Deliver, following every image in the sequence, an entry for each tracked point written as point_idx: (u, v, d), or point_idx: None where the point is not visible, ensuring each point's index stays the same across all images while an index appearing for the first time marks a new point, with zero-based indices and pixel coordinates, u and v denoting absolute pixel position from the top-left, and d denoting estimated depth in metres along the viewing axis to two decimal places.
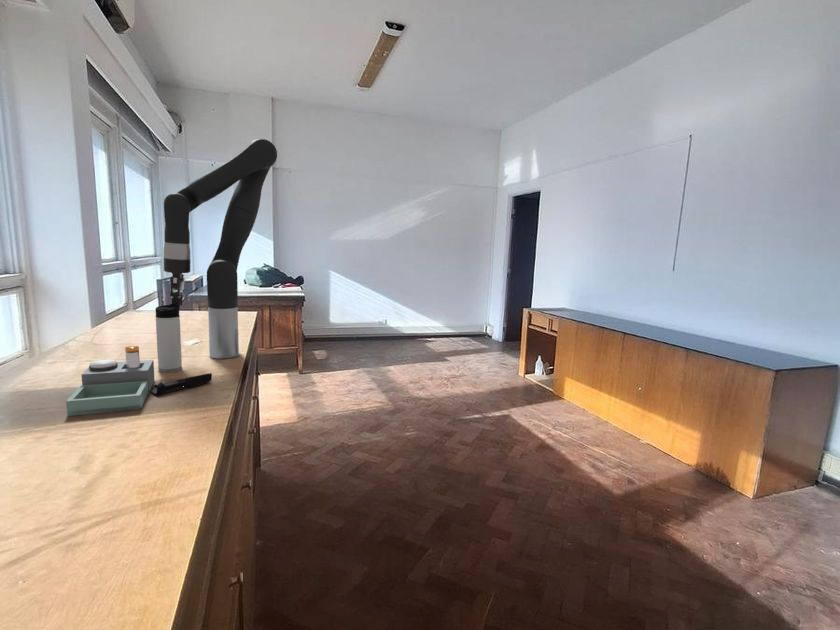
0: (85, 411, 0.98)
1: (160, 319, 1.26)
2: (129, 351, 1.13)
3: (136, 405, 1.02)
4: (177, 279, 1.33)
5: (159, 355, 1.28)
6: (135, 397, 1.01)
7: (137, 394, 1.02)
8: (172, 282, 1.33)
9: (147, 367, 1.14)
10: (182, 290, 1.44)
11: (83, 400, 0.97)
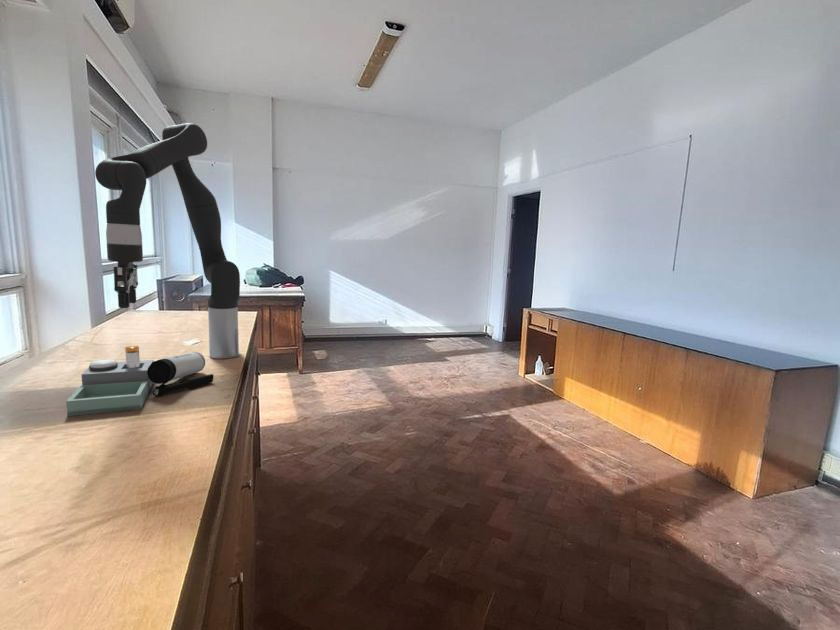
0: (85, 411, 0.98)
1: None
2: (129, 351, 1.13)
3: (136, 405, 1.02)
4: (122, 269, 1.05)
5: None
6: (135, 397, 1.01)
7: (137, 394, 1.02)
8: (116, 273, 1.04)
9: (147, 367, 1.14)
10: (135, 284, 1.15)
11: (83, 400, 0.97)
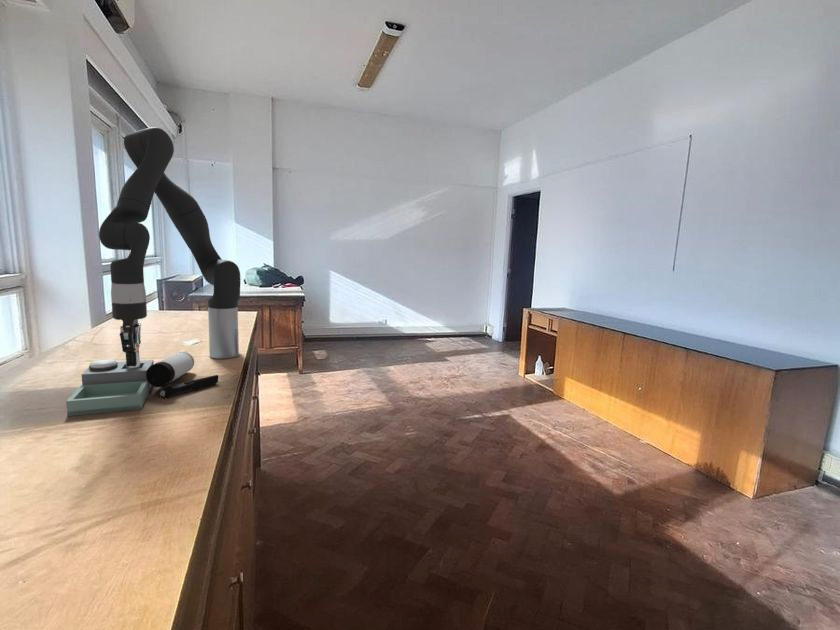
0: (85, 411, 0.98)
1: None
2: None
3: (136, 405, 1.02)
4: (129, 335, 1.08)
5: None
6: (135, 397, 1.01)
7: (137, 394, 1.02)
8: (123, 339, 1.08)
9: (147, 367, 1.14)
10: (138, 342, 1.16)
11: (83, 400, 0.97)
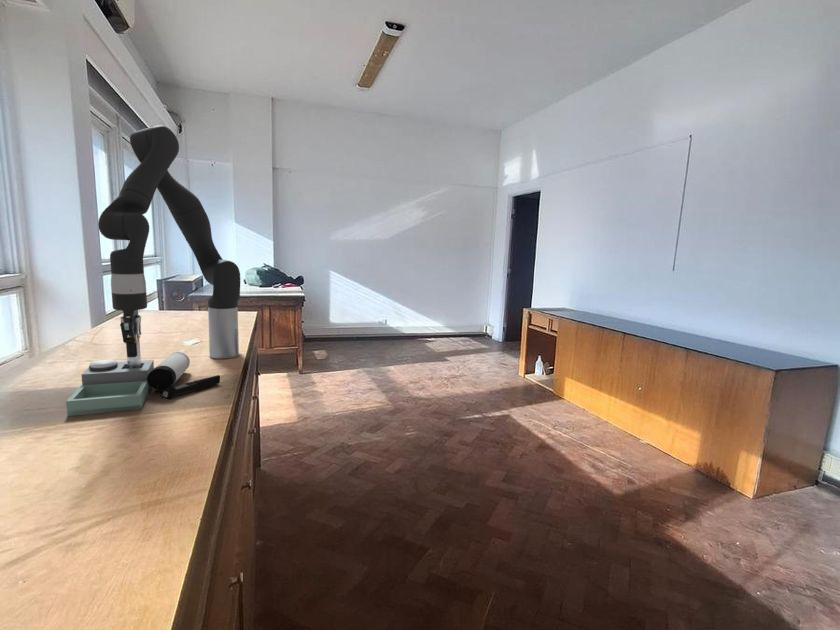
0: (85, 411, 0.98)
1: None
2: None
3: (136, 405, 1.02)
4: (129, 326, 1.07)
5: None
6: (135, 397, 1.01)
7: (137, 394, 1.02)
8: (123, 329, 1.07)
9: (147, 367, 1.14)
10: (138, 333, 1.15)
11: (83, 400, 0.97)
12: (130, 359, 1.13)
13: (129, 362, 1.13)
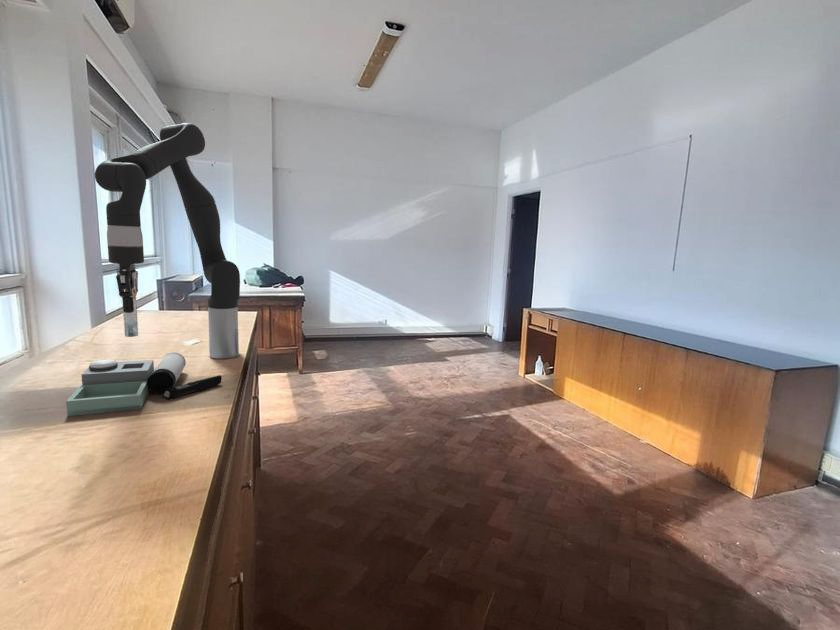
0: (85, 411, 0.98)
1: None
2: None
3: (136, 405, 1.02)
4: (125, 278, 1.05)
5: None
6: (135, 397, 1.01)
7: (137, 394, 1.02)
8: (119, 282, 1.05)
9: (147, 367, 1.14)
10: (135, 289, 1.13)
11: (83, 400, 0.97)
12: (126, 315, 1.11)
13: (125, 318, 1.11)
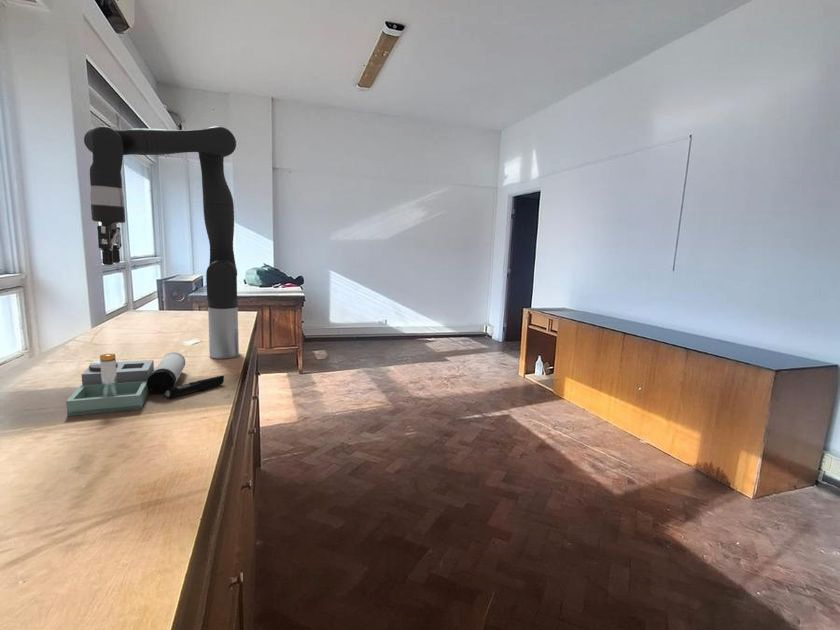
0: (85, 411, 0.98)
1: None
2: (104, 360, 1.01)
3: (136, 405, 1.02)
4: (106, 228, 1.13)
5: None
6: (135, 397, 1.01)
7: (137, 394, 1.02)
8: (100, 231, 1.13)
9: (147, 367, 1.14)
10: (118, 245, 1.24)
11: (83, 400, 0.97)
12: (104, 378, 1.02)
13: (103, 382, 1.02)
